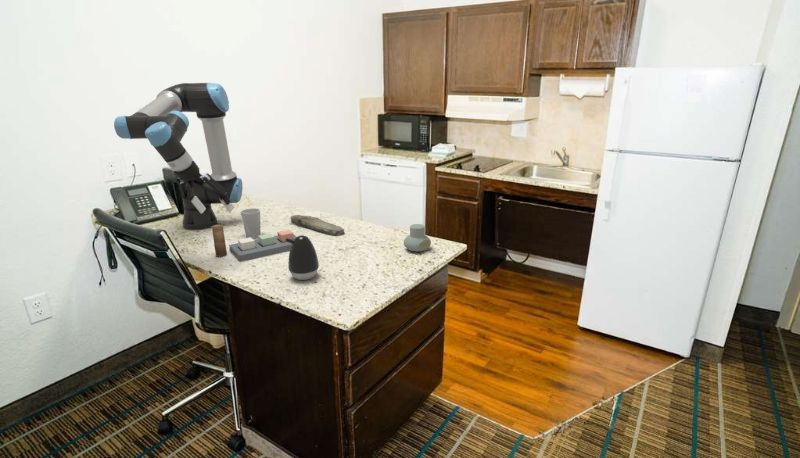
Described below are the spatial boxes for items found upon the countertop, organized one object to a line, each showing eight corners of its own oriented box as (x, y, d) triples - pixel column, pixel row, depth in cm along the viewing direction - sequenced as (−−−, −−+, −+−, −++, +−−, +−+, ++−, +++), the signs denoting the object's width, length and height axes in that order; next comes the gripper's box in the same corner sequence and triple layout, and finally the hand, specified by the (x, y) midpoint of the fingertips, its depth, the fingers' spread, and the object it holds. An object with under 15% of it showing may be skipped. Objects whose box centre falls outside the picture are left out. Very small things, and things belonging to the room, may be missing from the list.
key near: (238, 246, 170) (237, 239, 169) (251, 244, 173) (250, 237, 172) (242, 250, 166) (241, 243, 165) (255, 247, 169) (254, 240, 168)
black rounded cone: (291, 271, 153) (287, 231, 149) (320, 270, 154) (318, 230, 149) (286, 284, 144) (282, 241, 139) (318, 282, 145) (315, 240, 140)
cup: (257, 240, 184) (254, 213, 180) (240, 239, 186) (236, 212, 182) (266, 234, 192) (263, 208, 188) (249, 233, 193) (246, 207, 189)
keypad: (229, 250, 173) (229, 245, 172) (291, 238, 187) (290, 232, 186) (240, 261, 162) (239, 255, 161) (304, 247, 176) (304, 241, 176)
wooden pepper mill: (214, 254, 169) (210, 225, 165) (225, 252, 171) (221, 224, 167) (217, 258, 166) (213, 228, 162) (228, 255, 168) (224, 226, 164)
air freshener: (418, 243, 180) (419, 220, 177) (433, 248, 175) (434, 225, 172) (400, 250, 173) (400, 226, 170) (415, 255, 168) (415, 231, 164)
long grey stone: (333, 241, 188) (349, 236, 195) (333, 230, 186) (350, 225, 193) (284, 222, 208) (301, 218, 216) (284, 211, 207) (301, 208, 214)
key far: (277, 238, 179) (277, 232, 178) (289, 236, 182) (288, 229, 181) (282, 242, 175) (281, 235, 174) (294, 239, 178) (293, 232, 177)
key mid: (258, 242, 174) (258, 235, 174) (270, 240, 177) (270, 233, 176) (262, 246, 171) (262, 239, 170) (275, 243, 173) (274, 236, 172)
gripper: (150, 174, 149) (186, 218, 163) (205, 170, 140) (238, 216, 154) (163, 161, 154) (197, 204, 168) (217, 156, 145) (248, 202, 159)
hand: (217, 210), depth 161 cm, fingers open, 13 cm apart
